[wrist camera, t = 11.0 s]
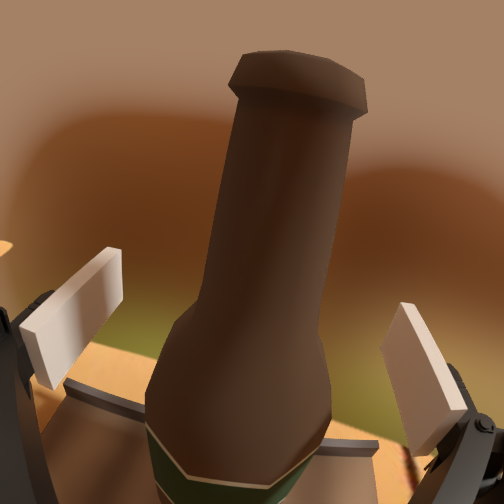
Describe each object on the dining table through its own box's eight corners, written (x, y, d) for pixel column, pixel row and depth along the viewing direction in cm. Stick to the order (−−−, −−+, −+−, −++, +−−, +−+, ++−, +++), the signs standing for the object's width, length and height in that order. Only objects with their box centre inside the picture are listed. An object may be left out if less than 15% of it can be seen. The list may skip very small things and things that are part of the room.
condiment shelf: (18, 514, 12) (-7, 492, 11) (78, 408, 24) (67, 376, 22) (365, 588, 12) (396, 579, 10) (356, 464, 23) (377, 438, 22)
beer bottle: (149, 460, 19) (147, 58, 9) (250, 446, 22) (338, 92, 12) (174, 554, 12) (175, -23, 3) (290, 528, 15) (503, 117, 6)
